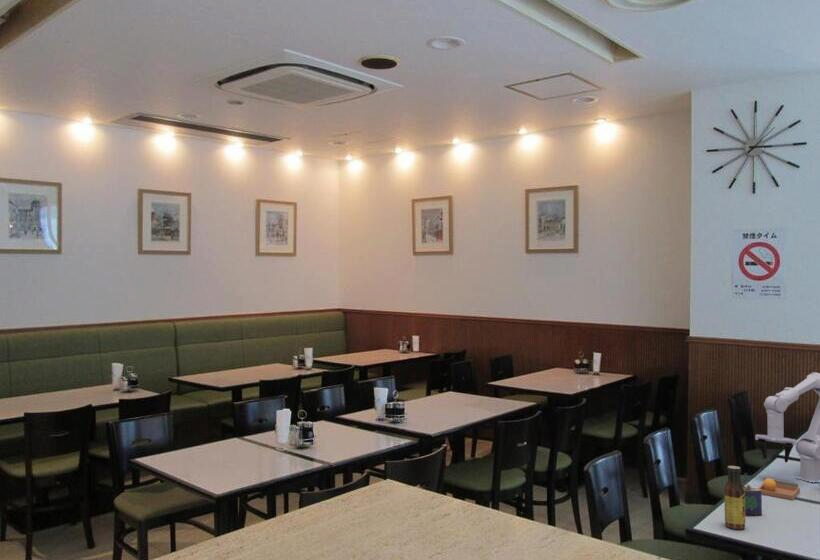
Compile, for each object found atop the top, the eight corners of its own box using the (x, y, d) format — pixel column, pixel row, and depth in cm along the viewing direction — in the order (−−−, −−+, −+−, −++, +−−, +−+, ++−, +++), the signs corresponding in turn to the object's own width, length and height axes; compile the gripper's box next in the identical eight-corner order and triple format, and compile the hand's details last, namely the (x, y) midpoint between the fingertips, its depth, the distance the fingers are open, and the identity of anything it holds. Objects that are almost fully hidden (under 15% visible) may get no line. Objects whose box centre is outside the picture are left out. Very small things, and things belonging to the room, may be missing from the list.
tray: (765, 486, 266) (765, 481, 266) (799, 492, 258) (799, 487, 258) (756, 493, 256) (756, 489, 256) (792, 500, 248) (792, 495, 248)
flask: (759, 513, 235) (759, 483, 235) (763, 516, 232) (763, 485, 232) (733, 513, 236) (733, 482, 236) (736, 516, 233) (736, 485, 233)
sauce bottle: (747, 531, 219) (747, 470, 219) (727, 529, 220) (727, 469, 220) (742, 523, 225) (741, 465, 225) (722, 522, 227) (722, 464, 226)
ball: (777, 487, 260) (764, 482, 263) (778, 479, 258) (766, 474, 261) (773, 495, 257) (760, 489, 260) (775, 486, 255) (762, 481, 258)
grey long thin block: (764, 485, 267) (764, 477, 267) (798, 491, 259) (798, 483, 259) (763, 485, 266) (763, 478, 266) (797, 491, 258) (797, 484, 258)
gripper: (753, 425, 271) (753, 458, 271) (793, 430, 261) (793, 465, 261) (757, 422, 276) (758, 455, 276) (797, 427, 267) (797, 461, 267)
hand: (775, 460), depth 269 cm, fingers open, 7 cm apart
